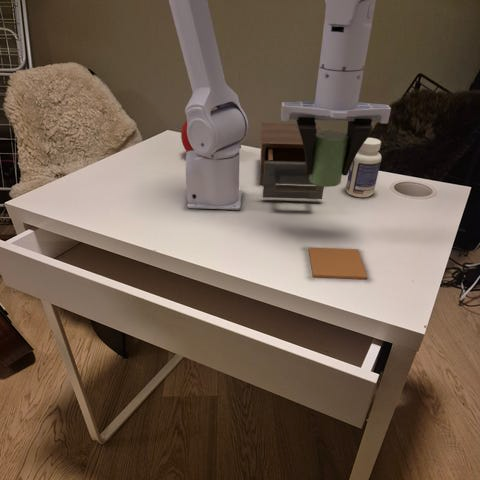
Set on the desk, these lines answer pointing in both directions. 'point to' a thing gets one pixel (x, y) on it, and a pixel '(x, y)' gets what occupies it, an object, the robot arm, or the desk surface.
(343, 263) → the coaster
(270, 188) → the drawer
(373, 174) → the pill bottle
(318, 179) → the tin
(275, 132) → the cabinet
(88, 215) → the desk surface
